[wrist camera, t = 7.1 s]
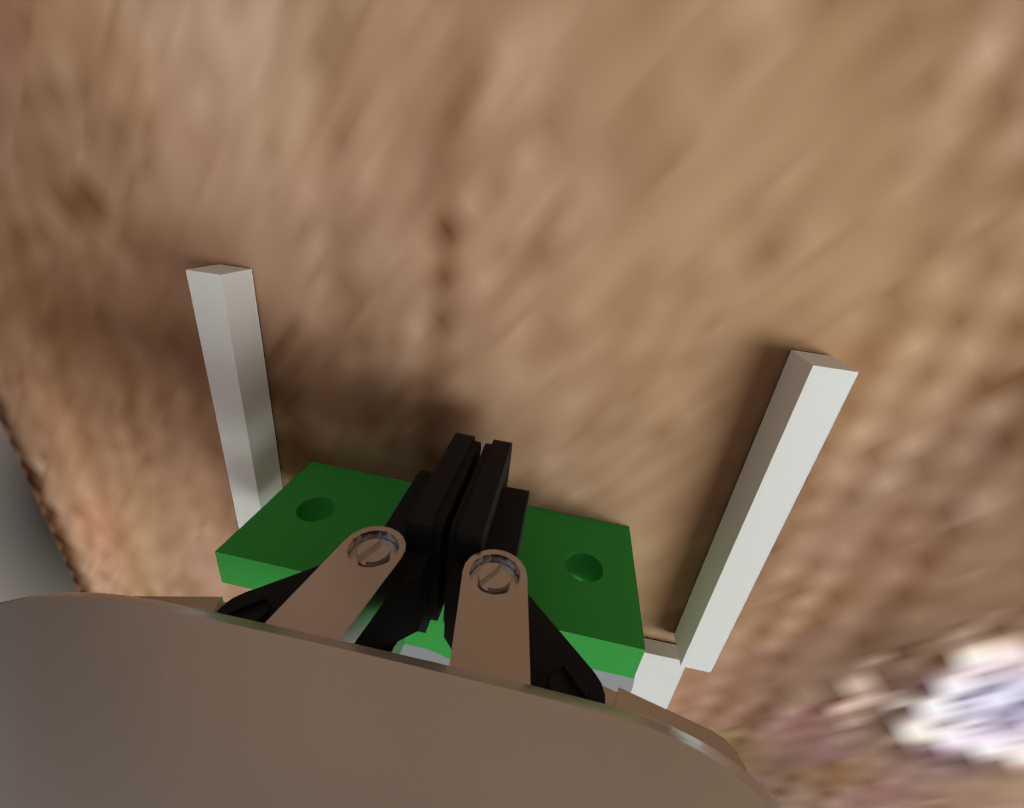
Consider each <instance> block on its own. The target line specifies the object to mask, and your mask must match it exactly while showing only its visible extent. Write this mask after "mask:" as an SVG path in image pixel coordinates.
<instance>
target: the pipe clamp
mask: <svg viewBox="0 0 1024 808" xmlns="http://www.w3.org/2000/svg"><path fill="white" fill-rule="evenodd" d="M411 483H412V482H409V481H404V480H399V479H395V478H390V477H385V476H380V475H375V474H370V473H365V472H361V471H356V470H351V469H346V468H341V467H336V466H331V465H327V464H322V463H317V462H312V461H311V462H310V463H309V464H308V465H307V466H306V467H305V468H304V469H303V470H302V471H301V472H300V473H298V474H297V475H296V476H295V477H294V478H293V479H292V480H291V481H290V482H289V483H288V484H287V485H286V486H285V487H284V488H282V489H281V490H280V491H279V492H278V493H277V494H276V495H275V496H274V497H273V498H272V499H271V500H270V501H269V502H268V503H266V504H265V505H264V506H263V507H262V508H261V509H260V510H259V511H258V512H257V513H256V514H255V515H254V516H253V517H252V518H250V519H249V520H248V521H247V522H246V523H245V524H244V525H243V526H242V527H241V528H240V529H239V530H238V531H237V532H236V533H234V534H233V535H232V536H231V537H230V538H229V539H228V540H227V541H226V542H225V543H224V544H223V545H222V546H221V547H220V548H218V549H217V550H216V551H215V554H216V558H217V562H218V567H219V571H220V575H221V580H222V582H224V583H228V584H232V585H236V586H241V587H245V588H249V589H256V588H259V587H262V586H264V585H267V584H270V583H273V582H275V581H278V580H281V579H283V578H286V577H289V576H292V575H294V574H297V573H300V572H303V571H305V570H308V569H311V568H314V567H316V566H319V565H321V564H322V563H323V562H324V561H325V560H326V559H327V558H328V557H329V556H330V555H331V554H332V553H333V552H334V551H335V550H336V549H337V548H338V547H339V546H340V545H341V544H342V542H343V541H344V540H345V539H346V538H348V537H349V536H350V535H351V534H353V533H354V532H356V531H358V530H361V529H363V528H367V527H372V526H385V525H386V523H387V522H388V520H389V518H390V517H391V515H392V514H393V512H394V511H395V509H396V507H397V506H398V504H399V503H400V501H401V499H402V498H403V496H404V495H405V493H406V491H407V490H408V488H409V487H410V485H411ZM518 559H519V560H520V561H521V562H522V564H523V565H524V567H525V568H526V573H527V584H528V594H529V596H530V597H531V598H532V599H533V600H534V601H535V603H536V604H537V605H538V606H539V607H540V609H541V610H542V611H543V612H544V613H545V614H546V616H547V617H548V618H549V619H550V620H551V622H552V623H553V624H554V625H555V626H556V627H557V629H558V630H559V631H560V632H561V633H562V634H563V636H564V637H565V638H566V639H567V640H568V642H569V643H570V644H571V645H572V646H573V647H574V649H575V650H576V651H577V652H578V653H579V655H580V656H581V657H582V658H583V659H584V660H585V662H586V663H587V664H588V665H589V666H590V667H591V669H595V670H599V671H603V672H607V673H612V674H616V675H620V676H624V677H629V678H633V679H634V677H635V674H636V672H637V669H638V667H639V664H640V662H641V660H642V657H643V655H644V652H645V643H644V636H643V628H642V621H641V613H640V606H639V598H638V590H637V583H636V575H635V568H634V560H633V553H632V545H631V538H630V530H629V527H628V526H623V525H618V524H613V523H608V522H603V521H599V520H594V519H589V518H584V517H579V516H574V515H569V514H565V513H560V512H555V511H550V510H545V509H540V508H535V507H531V506H527V510H526V516H525V522H524V527H523V533H522V538H521V544H520V549H519V554H518ZM578 579H579V580H578ZM580 580H581V581H580ZM583 581H584V582H583ZM443 617H444V605H443V608H442V611H441V614H440V617H439V619H438V621H435V620H430V623H429V626H428V628H427V631H426V633H422V632H418V631H417V632H415V633H413V634H411V635H409V636H407V637H405V643H404V645H412V646H417V647H421V648H424V649H428V650H430V651H433V652H436V653H438V654H440V655H442V656H444V657H446V658H448V659H449V660H450V657H451V648H450V646H449V645H448V643H447V641H446V640H445V638H444V626H445V623H444V622H443Z"/></svg>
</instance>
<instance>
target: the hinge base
mask: <svg viewBox="0 0 1024 808" xmlns="http://www.w3.org/2000/svg"><path fill="white" fill-rule="evenodd" d="M186 274H187V279H188V284H189V289H190V293H191V298H192V303H193V308H194V313H195V318H196V323H197V327H198V332H199V337H200V342H201V347H202V352H203V356H204V361H205V366H206V371H207V376H208V381H209V386H210V390H211V395H212V400H213V405H214V410H215V415H216V420H217V424H218V429H219V434H220V439H221V444H222V449H223V454H224V458H225V463H226V468H227V473H228V478H229V483H230V487H231V492H232V497H233V502H234V507H235V512H236V517H237V521H238V526H239V529H240V528H241V527H242V526H243V525H244V524H245V523H246V522H247V521H248V520H249V519H250V518H252V517H253V516H254V515H255V514H256V513H257V512H258V511H259V510H260V509H261V508H262V507H263V506H264V505H265V504H266V503H268V502H269V501H270V500H271V499H272V498H273V497H274V496H275V495H276V494H277V493H278V492H279V491H280V490H281V489H282V488H283V486H282V479H281V472H280V465H279V458H278V451H277V444H276V437H275V430H274V423H273V416H272V409H271V402H270V394H269V387H268V380H267V373H266V366H265V359H264V352H263V345H262V338H261V331H260V324H259V317H258V310H257V303H256V296H255V289H254V282H253V275H252V269H248V268H242V267H235V266H228V265H222V264H218V265H212V266H206V267H199V268H193V269H187V270H186ZM858 373H859V372H857V371H856V370H854V369H852V368H851V367H849V366H848V365H846V364H844V363H843V362H841V361H839V360H838V359H836V358H834V357H833V356H829V355H822V354H815V353H809V352H802V351H795V350H791V352H790V354H789V357H788V359H787V361H786V364H785V366H784V369H783V371H782V374H781V376H780V379H779V381H778V383H777V386H776V388H775V391H774V393H773V396H772V398H771V400H770V403H769V405H768V408H767V410H766V413H765V415H764V417H763V420H762V422H761V425H760V427H759V430H758V432H757V434H756V437H755V439H754V442H753V444H752V447H751V449H750V451H749V454H748V456H747V459H746V461H745V464H744V466H743V468H742V471H741V473H740V476H739V478H738V481H737V483H736V485H735V488H734V490H733V493H732V495H731V498H730V500H729V503H728V505H727V507H726V510H725V512H724V515H723V517H722V520H721V522H720V524H719V527H718V529H717V532H716V534H715V537H714V539H713V541H712V544H711V546H710V549H709V551H708V554H707V556H706V558H705V561H704V563H703V566H702V568H701V571H700V573H699V575H698V578H697V580H696V583H695V585H694V588H693V590H692V592H691V595H690V597H689V600H688V602H687V605H686V607H685V610H684V612H683V614H682V617H681V619H680V622H679V624H678V627H677V629H676V631H675V634H674V636H675V641H676V645H675V644H670V643H665V642H661V641H656V640H652V639H647V638H644V643H645V652H644V655H643V657H642V660H641V662H640V664H639V667H638V669H637V672H636V674H635V677H634V679H633V678H629V677H624V676H620V675H616V674H612V673H607V672H603V671H599V670H595V669H592V670H593V671H594V672H595V674H596V675H597V677H598V678H599V680H600V682H601V684H602V685H603V686H605V687H607V688H609V689H611V690H613V691H615V692H617V691H618V688H619V687H620V688H622V689H624V690H626V691H628V692H630V693H632V694H635V695H637V696H639V697H641V698H643V699H645V700H647V701H650V702H652V703H654V704H656V705H658V706H660V707H662V708H665V709H667V707H668V704H669V702H670V700H671V698H672V695H673V693H674V691H675V689H676V687H677V684H678V682H679V680H680V678H681V675H682V673H683V671H684V669H685V667H688V668H692V669H697V670H702V671H706V672H711V670H712V668H713V666H714V664H715V662H716V660H717V658H718V656H719V654H720V652H721V650H722V648H723V646H724V644H725V642H726V640H727V638H728V636H729V634H730V632H731V630H732V628H733V626H734V624H735V622H736V620H737V618H738V616H739V614H740V612H741V610H742V608H743V606H744V604H745V602H746V600H747V598H748V595H749V593H750V591H751V589H752V587H753V585H754V583H755V581H756V579H757V577H758V575H759V573H760V571H761V569H762V567H763V565H764V563H765V561H766V559H767V557H768V555H769V553H770V551H771V549H772V547H773V545H774V543H775V541H776V539H777V537H778V535H779V533H780V531H781V529H782V527H783V525H784V523H785V520H786V518H787V516H788V514H789V512H790V510H791V508H792V506H793V504H794V502H795V500H796V498H797V496H798V494H799V492H800V490H801V488H802V486H803V484H804V482H805V480H806V478H807V476H808V474H809V472H810V470H811V468H812V466H813V464H814V462H815V460H816V458H817V456H818V454H819V452H820V450H821V448H822V446H823V443H824V441H825V439H826V437H827V435H828V433H829V431H830V429H831V427H832V425H833V423H834V421H835V419H836V417H837V415H838V413H839V411H840V409H841V407H842V405H843V403H844V401H845V399H846V397H847V395H848V393H849V391H850V389H851V387H852V385H853V383H854V381H855V379H856V377H857V375H858ZM400 654H401V655H405V656H410V657H414V658H418V659H422V660H427V661H431V662H435V663H440V664H444V665H448V666H449V665H450V660H449V659H448V658H446V657H444V656H442V655H440V654H438V653H436V652H433V651H430V650H428V649H424V648H421V647H417V646H412V645H404V646H403V648H402V651H401V652H400Z"/></svg>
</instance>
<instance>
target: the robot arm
mask: <svg viewBox="0 0 1024 808" xmlns="http://www.w3.org/2000/svg"><path fill="white" fill-rule="evenodd" d="M480 451H481V442H477V441H475V436H471V435H465V434H460V433H456V434H455V436H454V437H453V439H452V441H451V443H450V444H449V446H448V448H447V450H446V451H445V453H444V455H443V457H442V458H441V460H440V462H439V464H438V465H437V467H436V469H435V471H434V472H433V473H431V472H426V471H420V472H419V473H418V474H417V475H416V477H415V479H414V480H413V482H412V483H411V485H410V487H409V488H408V490H407V491H406V493H405V495H404V496H403V498H402V499H401V501H400V503H399V504H398V506H397V507H396V509H395V511H394V512H393V514H392V515H391V517H390V518H389V520H388V522H387V523H386V525H385V526H372V527H367V528H363V529H361V530H358V531H356V532H354V533H353V534H351V535H350V536H349V537H348V538H346V539H345V540H344V541H343V542H342V544H341V545H340V546H339V547H338V548H337V549H336V550H335V551H334V552H333V553H332V554H331V555H330V556H329V557H328V558H327V559H326V560H325V561H324V562H323V563H322V564H321V565H319V566H316V567H314V568H311V569H308V570H305V571H303V572H300V573H297V574H294V575H292V576H289V577H286V578H283V579H281V580H278V581H275V582H273V583H270V584H267V585H264V586H262V587H259V588H256V589H253V590H251V591H248V592H245V593H243V594H241V595H239V596H237V597H234V598H232V599H231V600H230V601H228V602H223V598H222V597H158V596H126V595H118V594H106V593H57V594H47V595H39V596H29V597H24V598H18V599H13V600H9V601H5V602H1V603H0V808H784V807H783V806H782V804H781V803H780V802H779V801H778V800H777V799H776V798H775V797H774V796H773V795H772V794H771V793H770V791H769V790H768V789H766V788H765V787H764V786H763V785H762V784H761V783H760V782H758V781H757V780H756V779H755V778H754V777H753V776H752V775H750V774H749V773H748V772H747V771H746V767H745V766H744V764H743V762H742V760H741V758H740V757H739V755H738V753H737V752H736V751H735V749H734V748H733V747H732V746H731V745H730V744H729V743H728V742H727V741H726V740H725V739H724V738H722V737H721V736H719V735H718V734H716V733H715V732H713V731H712V730H709V729H707V728H705V727H703V726H701V725H699V724H697V723H694V722H692V721H690V720H688V719H686V718H684V717H682V716H679V715H677V714H675V713H673V712H671V711H669V710H667V709H665V708H662V707H660V706H658V705H656V704H654V703H652V702H650V701H647V700H645V699H643V698H641V697H639V696H637V695H635V694H632V693H630V692H628V691H626V690H624V689H622V688H620V687H619V688H618V691H617V692H615V691H613V690H611V689H609V688H607V687H605V686H603V685H602V684H601V682H600V680H599V678H598V677H597V675H596V674H595V672H594V671H593V670H592V669H591V667H590V666H589V665H588V664H587V663H586V662H585V660H584V659H583V658H582V657H581V656H580V655H579V653H578V652H577V651H576V650H575V649H574V647H573V646H572V645H571V644H570V643H569V642H568V640H567V639H566V638H565V637H564V636H563V634H562V633H561V632H560V631H559V630H558V629H557V627H556V626H555V625H554V624H553V623H552V622H551V620H550V619H549V618H548V617H547V616H546V614H545V613H544V612H543V611H542V610H541V609H540V607H539V606H538V605H537V604H536V603H535V601H534V600H533V599H532V598H531V597H530V596H529V594H528V584H527V573H526V568H525V567H524V565H523V564H522V562H521V561H520V560H519V559H518V554H519V549H520V544H521V538H522V533H523V527H524V522H525V516H526V510H527V504H528V497H529V491H526V490H521V489H516V488H510V487H507V482H508V474H509V466H510V459H511V451H512V443H510V442H504V441H499V440H494V441H493V443H492V444H488V443H486V444H485V446H484V449H483V451H482V453H481V456H480ZM443 605H444V617H443V622H444V623H445V626H444V638H445V640H446V641H447V643H448V645H449V646H450V648H451V657H450V665H449V666H448V665H444V664H440V663H435V662H431V661H427V660H422V659H418V658H414V657H410V656H405V655H401V654H400V652H401V651H402V648H403V646H404V643H405V637H407V636H409V635H411V634H413V633H415V632H417V631H418V632H422V633H426V631H427V628H428V626H429V623H430V620H435V621H438V619H439V617H440V614H441V611H442V608H443Z"/></svg>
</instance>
